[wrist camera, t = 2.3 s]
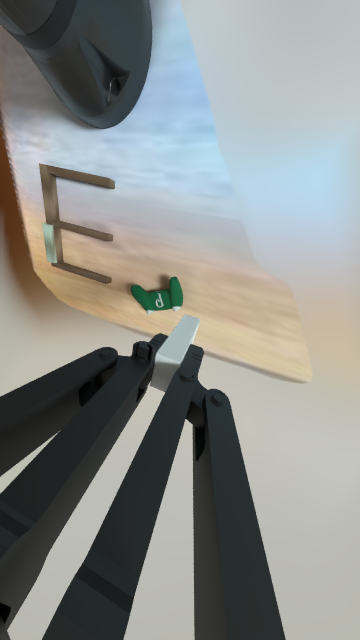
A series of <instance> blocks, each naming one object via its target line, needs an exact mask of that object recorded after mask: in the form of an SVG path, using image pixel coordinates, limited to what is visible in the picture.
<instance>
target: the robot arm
mask: <svg viewBox="0 0 360 640" xmlns="http://www.w3.org/2000/svg"><path fill="white" fill-rule="evenodd" d="M0 25H1V26H3V27H4V28H5V29H6V30H7V31H8V32H9V33H10V34H11V35H12V36H13V37H14V38H15V39H16V40H17V41H18V42H19V43H20V44H21V45H22V46H23V47H24V49H25V50H26V52H27V53H28V55H29V56H30V57H31V59H32V60H33V62H34V63H35V64H36V66H37V67H38V69H39V70H40V72H41V73H42V74H43V76H44V77H45V78H46V80H47V81H48V83H49V84H50V85H51V87H52V88H53V90H54V91H55V93H56V95H57V96H58V97H59V99H60V100H61V101H62V102H63V103H64V105H65V106H66V107H67V108H68V109H69V110H71V111H72V112H73V113H74V114H75V115H77V116H78V117H79V118H80V119H81V120H83V121H84V122H85V123H87V124H89V125H91V126H94V127H98V128H106V127H111V126H113V125H115V124H117V123H119V122H120V121H122V120H123V119H124V118H125V117H126V116H127V115H128V114H129V113H130V111H131V110H132V109H133V107H134V106H135V104H136V102H137V100H138V98H139V96H140V94H141V92H142V89H143V86H144V84H145V80H146V77H147V73H148V68H149V63H150V56H151V46H152V21H151V11H150V4H149V0H0ZM199 323H200V319H198V318H195V317H192V316H189V315H186V314H185V315H184V316H183V318H182V319H181V320H180V322H179V323H178V325H177V326H176V327H175V329H174V330H173V331H172V333H171V334H170V335H169V336H167V335H164V334H161V333H159V334H157V335H155V336H154V337H153V338H152V339H151V341H150V342H145V341H139V342H136V343H134V344H133V352H132V355H131V356H120V355H118V352H117V351H116V350H115V349H114V348H111V347H103V348H100V349H97V350H95V351H93V352H91V353H89V354H87V355H85V356H83V357H81V358H79V359H77V360H75V361H73V362H71V363H68V364H66V365H64V366H63V367H60V368H58V369H56V370H54V371H52V372H50V373H48V374H46V375H44V376H42V377H40V378H38V379H36V380H34V381H32V382H29V383H28V384H26V385H23V386H21V387H20V388H17V389H15V390H13V391H11V392H9V393H7V394H5V395H3V396H1V397H0V476H1V475H3V474H4V473H5V472H7V471H8V470H9V469H11V468H12V467H13V466H15V465H16V464H17V463H19V462H20V461H21V460H22V459H24V458H25V457H26V456H28V455H29V454H30V453H31V452H33V451H34V450H35V449H36V448H38V447H39V446H41V445H42V444H43V443H45V442H46V441H47V440H48V439H50V438H51V437H52V436H54V435H55V434H56V433H58V432H59V431H60V432H59V433H58V434H57V435H56V436H55V437H54V438H53V439H52V440H51V441H50V442H49V443H48V444H47V445H46V447H44V448H43V449H42V451H41V452H40V453H39V454H38V455H37V456H36V457H35V458H34V459H33V460H32V461H31V462H30V463H29V464H28V465H27V466H26V467H25V469H24V470H23V471H22V472H21V473H20V474H19V475H18V476H17V477H16V478H15V479H14V480H13V481H12V482H11V483H10V484H9V486H7V488H6V489H5V490H4V491H3V492H2V493H1V494H0V640H10V637H9V635H8V632H7V629H8V628H9V626H10V624H11V623H12V621H13V619H14V618H15V616H16V614H17V612H18V611H19V609H20V607H21V606H22V604H23V602H24V601H25V599H26V597H27V595H28V594H29V592H30V590H31V588H32V587H33V585H34V583H35V582H36V580H37V578H38V576H39V574H40V572H41V570H42V567H43V565H44V562H45V560H46V557H47V555H48V553H49V551H50V549H51V548H52V546H53V544H54V543H55V541H56V539H57V538H58V536H59V534H60V533H61V531H62V529H63V528H64V526H65V524H66V523H67V521H68V520H69V518H70V516H71V515H72V513H73V511H74V509H75V508H76V506H77V505H78V503H79V501H80V500H81V498H82V496H83V495H84V493H85V492H86V490H87V488H88V487H89V485H90V483H91V482H92V480H93V478H94V477H95V475H96V473H97V472H98V470H99V468H100V467H101V465H102V464H103V462H104V460H105V459H106V457H107V455H108V454H109V452H110V450H111V449H112V447H113V445H114V444H115V442H116V440H117V439H118V437H119V436H120V433H121V432H122V431H123V429H124V427H125V426H126V424H127V422H128V421H129V419H130V417H131V416H132V414H133V413H134V411H135V409H136V408H137V406H138V404H139V403H140V401H141V399H142V398H143V396H144V394H145V393H146V390H147V386H148V384H149V383H150V381H151V383H150V386H152V387H154V388H157V389H159V390H161V391H164V392H165V394H164V396H163V398H162V401H161V403H160V405H159V407H158V409H157V411H156V413H155V415H154V417H153V419H152V421H151V423H150V425H149V428H148V430H147V432H146V434H145V436H144V438H143V440H142V442H141V444H140V446H139V448H138V450H137V452H136V455H135V457H134V459H133V461H132V463H131V465H130V467H129V469H128V471H127V473H126V476H125V478H124V480H123V482H122V484H121V486H120V488H119V490H118V492H117V494H116V496H115V498H114V501H113V502H112V505H111V507H110V509H109V511H108V513H107V515H106V517H105V519H104V521H103V523H102V525H101V527H100V530H99V532H98V534H97V536H96V538H95V540H94V542H93V544H92V546H91V548H90V550H89V552H88V554H87V556H86V558H85V560H84V562H83V563H82V565H81V567H80V568H79V570H78V571H77V573H76V574H75V576H74V578H73V580H72V581H71V583H70V585H69V587H68V589H67V590H66V593H65V594H64V596H63V598H62V600H61V602H60V604H59V606H58V608H57V610H56V612H55V614H54V616H53V618H52V620H51V622H50V624H49V626H48V628H47V630H46V632H45V634H44V636H43V638H42V640H123V639H124V635H125V631H126V628H127V624H128V620H129V616H130V612H131V608H132V604H133V599H134V596H135V592H136V588H137V585H138V581H139V577H140V574H141V571H142V567H143V564H144V560H145V557H146V553H147V550H148V546H149V543H150V539H151V536H152V533H153V529H154V526H155V522H156V519H157V515H158V512H159V508H160V505H161V502H162V498H163V494H164V491H165V488H166V484H167V481H168V477H169V474H170V470H171V467H172V464H173V460H174V457H175V453H176V450H177V446H178V443H179V439H180V436H181V432H182V429H183V426H184V422H185V419H187V420H188V421H189V422H190V423H192V424H193V506H194V507H193V511H194V512H193V514H194V516H193V517H194V622H195V623H194V626H195V640H286V639H285V635H284V631H283V627H282V622H281V618H280V614H279V610H278V605H277V601H276V597H275V592H274V588H273V584H272V580H271V575H270V571H269V567H268V563H267V558H266V554H265V550H264V546H263V541H262V537H261V533H260V529H259V525H258V520H257V516H256V512H255V508H254V503H253V499H252V495H251V491H250V486H249V482H248V478H247V473H246V469H245V465H244V460H243V456H242V452H241V448H240V443H239V439H238V435H237V431H236V427H235V422H234V418H233V414H232V409H231V405H230V401H229V399H228V397H227V396H226V395H225V393H223V392H222V391H220V390H217V389H210V390H207V389H206V388H204V387H203V386H202V385H201V384H200V383H199V381H198V377H197V376H198V372H199V368H200V365H201V361H202V357H203V355H204V351H203V348H201V347H198V346H195V345H193V342H194V339H195V335H196V332H197V329H198V326H199Z"/></svg>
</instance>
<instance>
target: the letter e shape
mask: <svg viewBox="0 0 360 640" xmlns="http://www.w3.org/2000/svg"><path fill="white" fill-rule="evenodd" d="M39 166H40V175H41V183H42V191H43V199H44V207H45V215H46V223H47V224H45V223H42V224H43V231H44V239H45V246H46V254H47V261H48V262H51V263H52V266H54V267H57V268H60V269H63V270H66V271H69V272H72V273H75V274H78V275H81V276H84V277H87V278H90V279H93V280H96V281H99V282H102V283H105V284H108V283H111V277H107V276H104V275H101V274H98V273H95V272H92V271H89V270H86V269H83V268H79V267H76V266H73V265H70V264H67V263H64V262H63V252H62V241H61V231H60V228H64V229H67V230H71V231H74V232H78V233H81V234H85V235H88V236H92V237H96V238H99V239H103V240H106V241H113V235H110V234H107V233H103V232H99V231H96V230H92V229H88V228H85V227H81V226H77V225H74V224H70V223H66V222H63V221H60V220H59V209H58V198H57V187H56V176H59V177H63V178H68V179H72V180H77V181H81V182H86V183H90V184H95V185H99V186H104V187H108V188H113V189H114V188H115V181H113V180H111V179H109V178H106V177H101V176H96V175H92V174H87V173H82V172H77V171H73V170H68V169H63V168H58V167H54V166H49V165H44V164H40V163H39Z"/></svg>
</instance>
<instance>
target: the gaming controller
mask: <svg viewBox="0 0 360 640" xmlns="http://www.w3.org/2000/svg"><path fill="white" fill-rule="evenodd" d="M131 292H132V294H133V296H134V298H135V299H136V300H137V301H138V302H139V303H140V304H141V305H142V306H143V308H144V309H145V310H146V312H147V314H151V313H152V312H154V311H158V310H167V309H173V311H177V310H178V309H180V308H181V306H182V303H183V293H182V289H181V286H180V283H179V281H178V279H177V277H171V279H170V282H169V289H166V290H161V291H156V292H155V291H153V292H150V293H148V292H146V291H145V290H144V289H143V288H142V287H141V286H139V285H132V286H131Z"/></svg>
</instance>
